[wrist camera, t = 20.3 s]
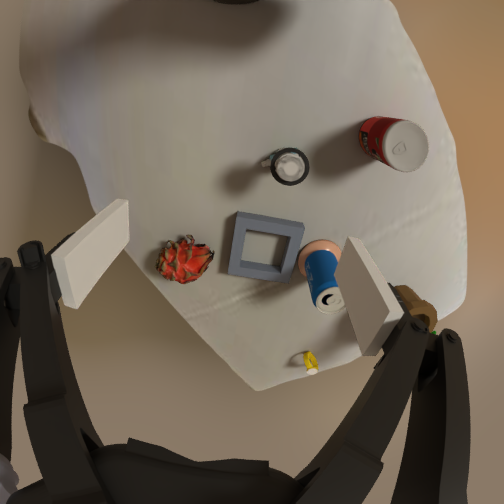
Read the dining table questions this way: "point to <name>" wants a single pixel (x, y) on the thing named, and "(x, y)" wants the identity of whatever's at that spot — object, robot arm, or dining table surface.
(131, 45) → the dining table surface
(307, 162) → the push button
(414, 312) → the flowerpot
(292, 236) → the grey square frame
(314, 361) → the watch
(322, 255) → the beverage can
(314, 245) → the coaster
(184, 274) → the dragon fruit
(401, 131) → the canned food
